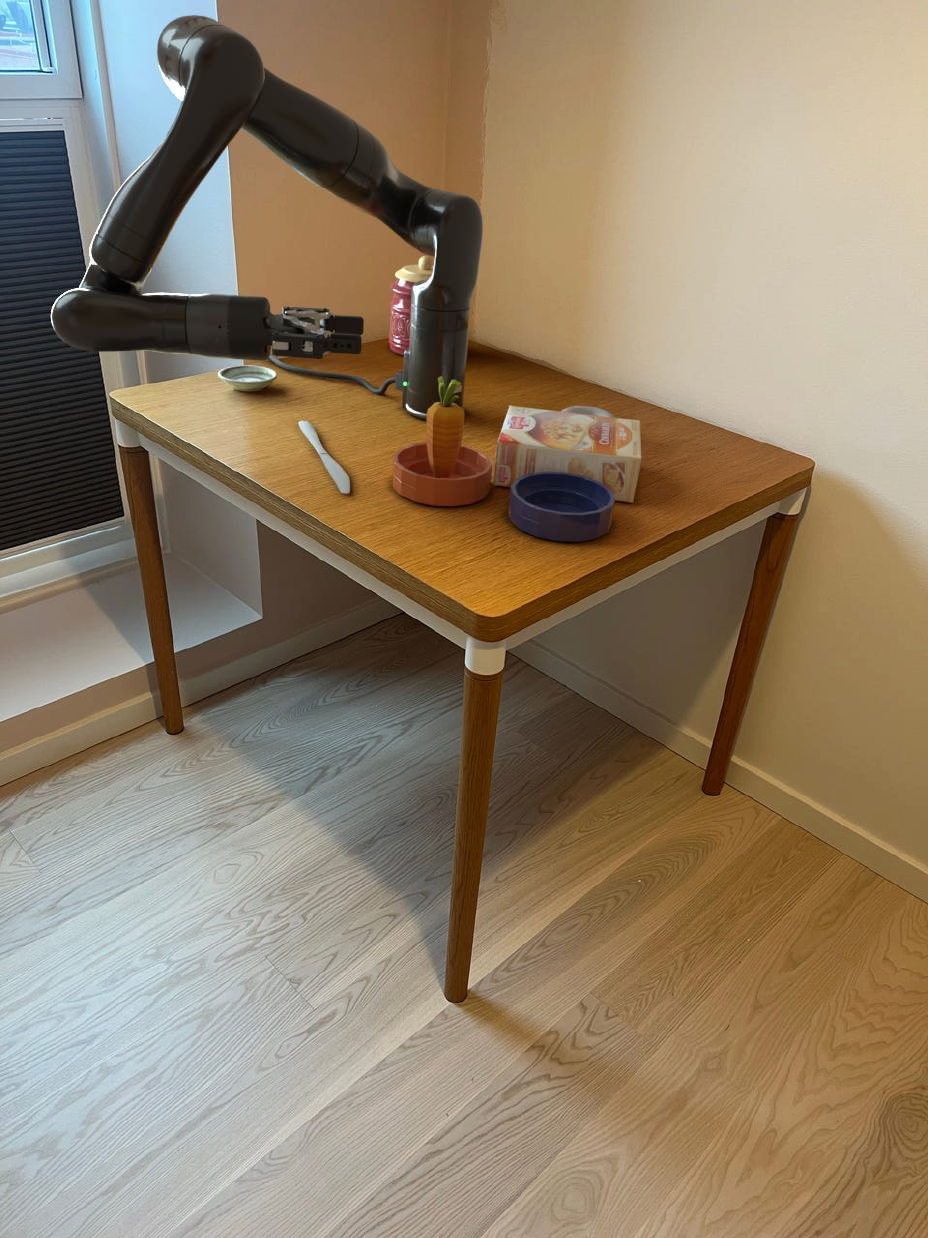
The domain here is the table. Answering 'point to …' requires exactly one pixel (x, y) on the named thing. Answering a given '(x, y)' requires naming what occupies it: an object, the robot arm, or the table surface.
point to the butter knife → (326, 458)
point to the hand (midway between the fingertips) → (362, 334)
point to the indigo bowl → (561, 506)
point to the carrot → (444, 431)
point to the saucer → (247, 377)
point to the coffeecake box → (569, 448)
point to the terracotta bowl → (423, 487)
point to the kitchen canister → (405, 302)
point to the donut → (588, 411)
